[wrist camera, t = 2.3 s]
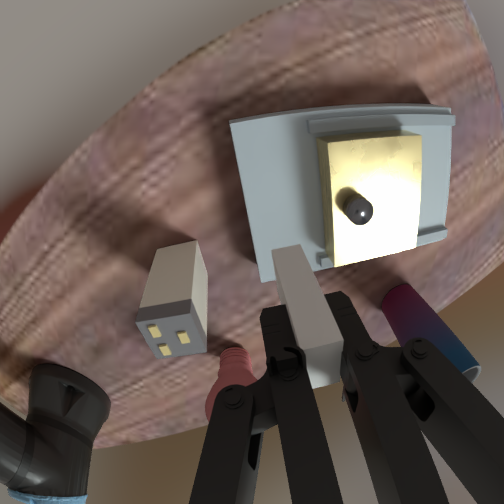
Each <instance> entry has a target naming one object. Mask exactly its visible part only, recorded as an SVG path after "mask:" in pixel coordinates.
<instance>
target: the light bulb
mask: <svg viewBox="0 0 504 504" xmlns="http://www.w3.org/2000/svg"><path fill="white" fill-rule="evenodd" d="M251 367H252V364H251V358H250V356H249V353H248V352H247V351H246V350H245V349H243V348H238V347H233V348H228V349H226V350H224V351H223V352H222V353H221V355H220V369H219V371H218V379H217V381H216V382H215V384H214V385H213V387H212V389H211V391H210V393H209V394H208V396H207V399H206V404H205V412H206V416H207V419H208V421H210V417H211V413H212V409H213V405H214V401H215V398H216V396H217V394H218V392H219V391H220V390H221V389H222V388H224V387H226V386H228V385H234V384H239V385H244V386H245V387H246V386H248V385H250V384H252V383H254V382H256V381H257V379H256V378H255V377H254V376H253V371H252V368H251Z"/></svg>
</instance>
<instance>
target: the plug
mask: <svg viewBox="0 0 504 504" xmlns="http://www.w3.org/2000/svg"><path fill="white" fill-rule="evenodd" d="M207 285H208V274H207V271H206V268H205V264H204V261H203V258H202V255H201V251H200V248H199V245H198V241H197V240H195V241H191V242H186V243H181V244H177V245H172V246H168V247H164V248H159V249H157V251H156V254H155V257H154V260H153V263H152V266H151V269H150V273H149V276H148V279H147V282H146V286H145V289H144V293H143V296H142V300H141V303H140V307H139V310H138V314H137V318H136V321H135V323H136V325H137V326H138V328H139V330H140V332H141V333H142V335H143V337H144V338H145V340H146V342H147V343H148V345H149V347H150V348H151V350H152V352H153V353H154V355H155V357H156V358H157V359H161V358H169V357H177V356H184V355H191V354H198V353H204V352H207Z"/></svg>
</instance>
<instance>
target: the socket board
mask: <svg viewBox="0 0 504 504" xmlns="http://www.w3.org/2000/svg"><path fill="white" fill-rule="evenodd" d="M229 126H230V131H231V136H232V141H233V146H234V151H235V156H236V161H237V166H238V171H239V176H240V181H241V186H242V191H243V196H244V201H245V206H246V211H247V216H248V221H249V226H250V231H251V236H252V241H253V246H254V251H255V256H256V261H257V266H258V270H259V275H260V279H261V283H263V282H268V281H272V280H276V277H275V271H274V264H273V258H272V252H271V250H273V249H278V248H283V247H288V246H292V245H297V244H300V245H301V247H302V249H303V251H304V253H305V256H306V258H307V260H308V262H309V264H310V266H311V268H312V270H313V272H314V271H318V270H322V269H327V268H331V267H334V265H333V263H332V262H331V260H330V259H329V257H328V255H327V254H326V252H325V238H324V221H323V207H322V194H321V183H320V172H319V162H318V152H317V144H316V137H323V136H331V135H340V134H350V133H361V132H374V131H389V130H407V131H410V132H413V133H416V134H419V135H422V173H421V194H420V208H419V219H418V229H417V238H416V246H415V247H417V246H421V245H425V244H429V243H432V242H436V241H440V240H442V239H443V238H446V237H447V231H448V229H447V228H445V227H444V226H445V219H446V211H447V203H448V193H449V181H450V166H451V126H455V115H452V114H451V108H448V107H443V106H438V105H433V104H410V103H383V104H355V105H339V106H326V107H315V108H306V109H297V110H289V111H282V112H275V113H268V114H262V115H256V116H250V117H245V118H239V119H234V120H229Z"/></svg>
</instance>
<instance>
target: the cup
mask: <svg viewBox="0 0 504 504" xmlns="http://www.w3.org/2000/svg"><path fill="white" fill-rule="evenodd" d="M382 311H383V313H384V315H385V316H386V318H387V320H388V322H389V324H390V326H391V328H392V330H393V332H394V334H395V336H396V338H397V340H398V342H399V344H400V346H401V347H404V345H405V343H406V342H407V341H408V340H410V339H412V338H419V337H421V338H424V339H427V340H429V341H430V342H431V343H432V344H433V345H435V346H436V347H437V348H438V349H439V350H440V351H441V352H442V353H443V354H444V355H445V356H446V357H447V358H448V359H449V360H450V361H451V362H452V363H453V364H454V365H455V366H456V367H457V369H458V370H459V371H460V372H461V373H462V374H463V375H464V376H465V377H466V378H467V379H468V380H469V381H470V382H471V383H473V382H474V381H475V379H476V378H477V377H478V375H479V374H480V372H481V366H480V365H479V364H478V362H477V361H476V360H475V358H474V357H473V356H472V355H471V354H470V352H469V351H468V350H467V349H466V347H465V346H464V345H463V344H462V342H461V341H460V340H459V339H458V338H457V337H456V335H454V333H453V332H452V331H451V330H450V328H449V327H448V326H447V325H446V324H445V323H444V322H443V321H442V319H441V318H440V317H439V316H438V315H437V314H436V313H435V311H434V310H433V309H432V308H431V307H430V306H429V305H428V304H427V303H426V302H425V300H424V299H423V298H422V297H421V296H420V295H419V294H418V293H417V292H416V291H415V290H414V289H413V288H412V287H411V286H410V285H407V284H403V285H399V286H397V287H395V288H394V289H392V290H391V291H390V292H389V293H388V294H387V295H386V296H385V298H384V300H383V302H382Z"/></svg>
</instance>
